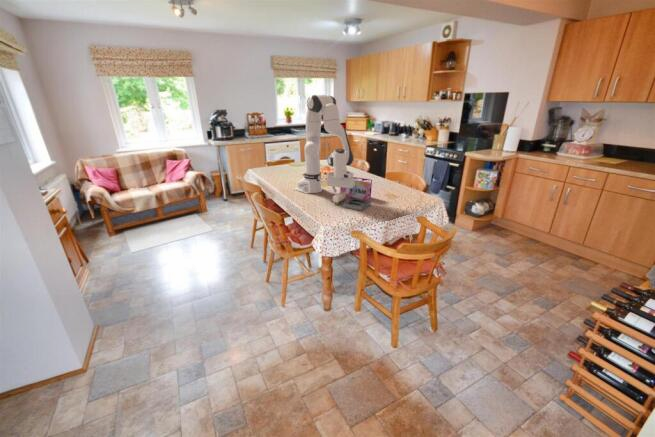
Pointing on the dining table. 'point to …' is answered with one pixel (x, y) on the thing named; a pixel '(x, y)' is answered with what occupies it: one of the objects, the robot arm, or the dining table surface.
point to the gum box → (359, 189)
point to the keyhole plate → (356, 204)
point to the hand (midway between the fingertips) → (341, 192)
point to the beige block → (339, 197)
